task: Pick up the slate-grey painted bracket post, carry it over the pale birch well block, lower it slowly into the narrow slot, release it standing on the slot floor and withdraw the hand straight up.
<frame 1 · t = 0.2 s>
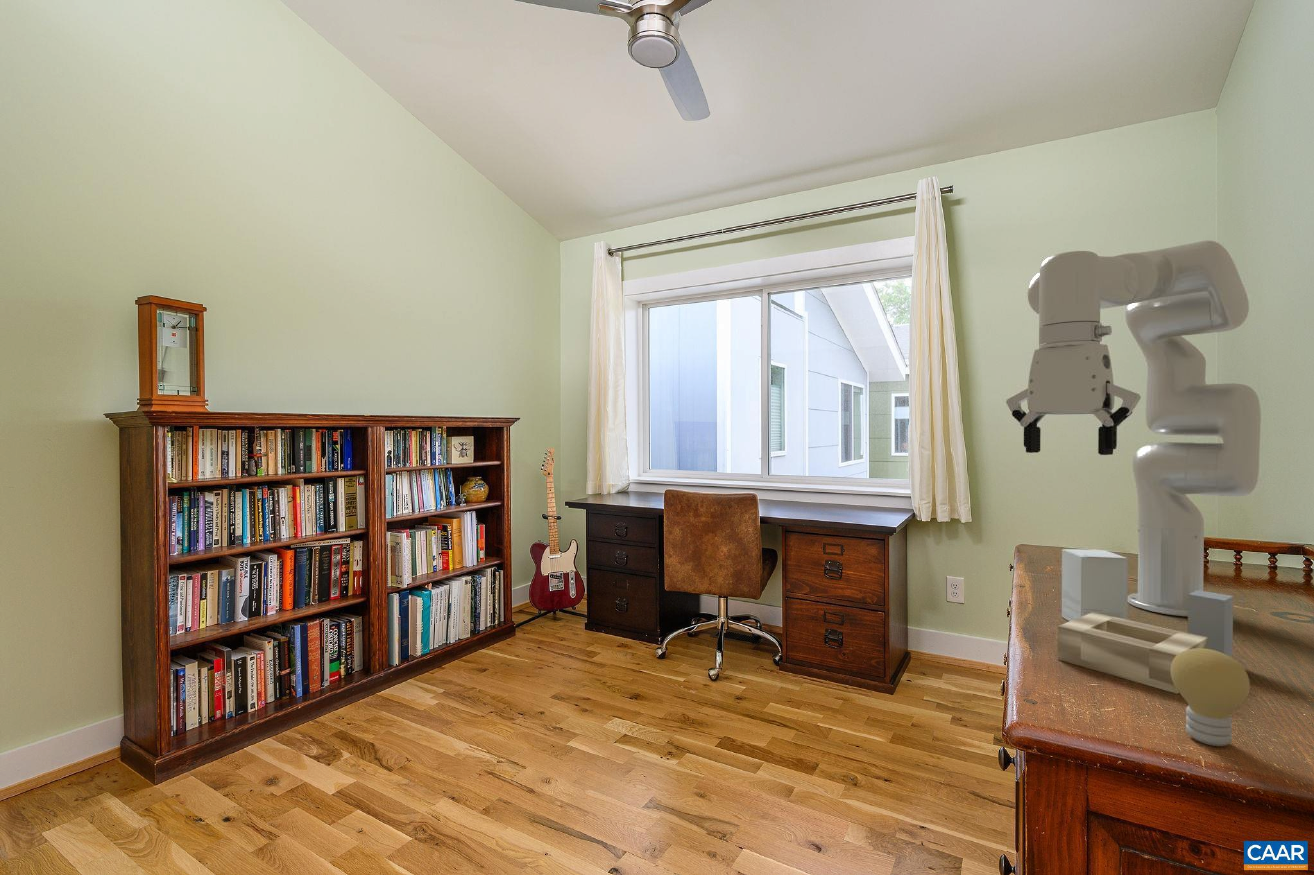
hand: (1067, 453, 90), 31 cm above the table, fingers open, 9 cm apart
supplement box: (1093, 625, 106), on the table
well: (1130, 666, 87), on the table
light bulb: (1208, 742, 66), on the table
bracket: (1209, 663, 88), on the table
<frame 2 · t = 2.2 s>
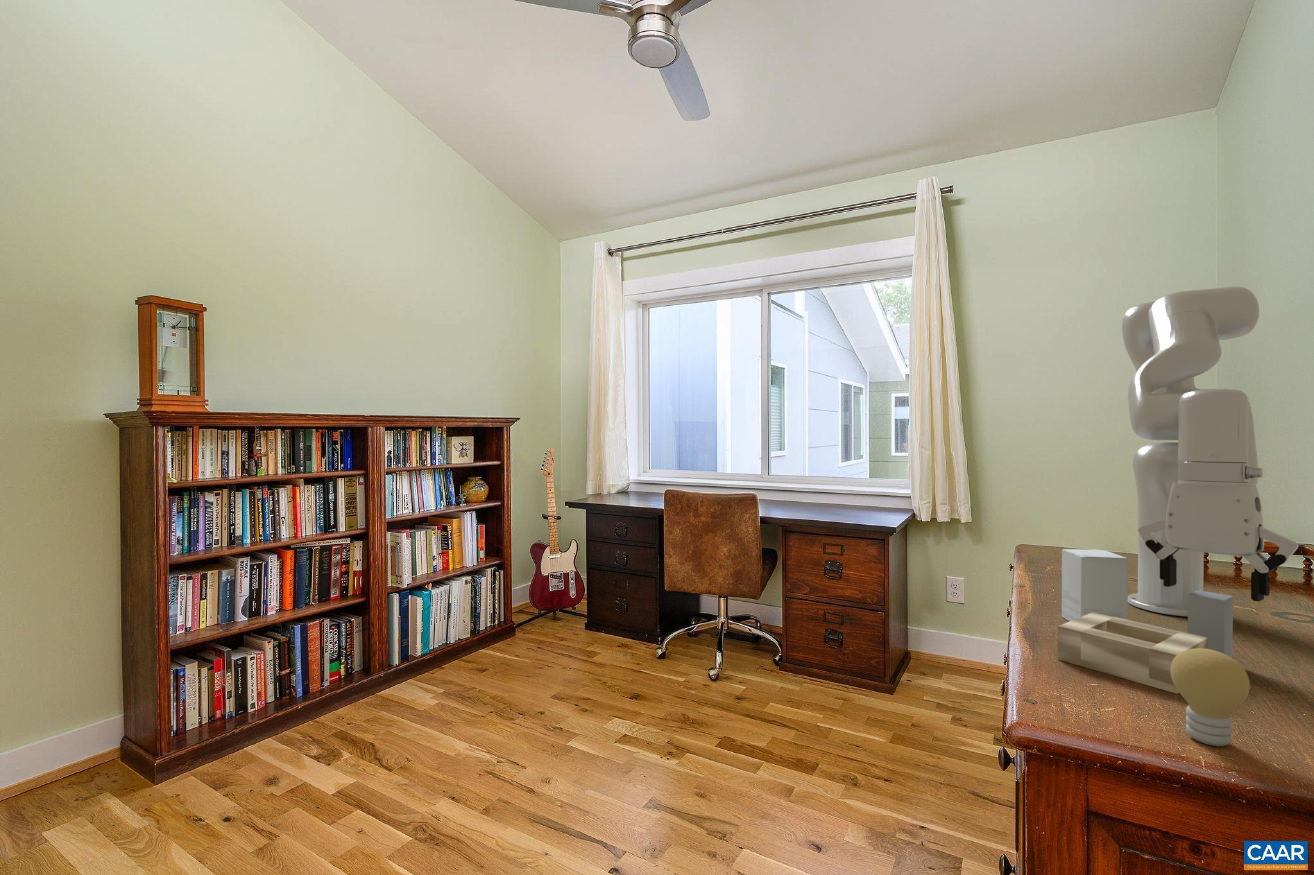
hand: (1211, 592, 87), 11 cm above the table, fingers open, 9 cm apart
nothing on the table moved.
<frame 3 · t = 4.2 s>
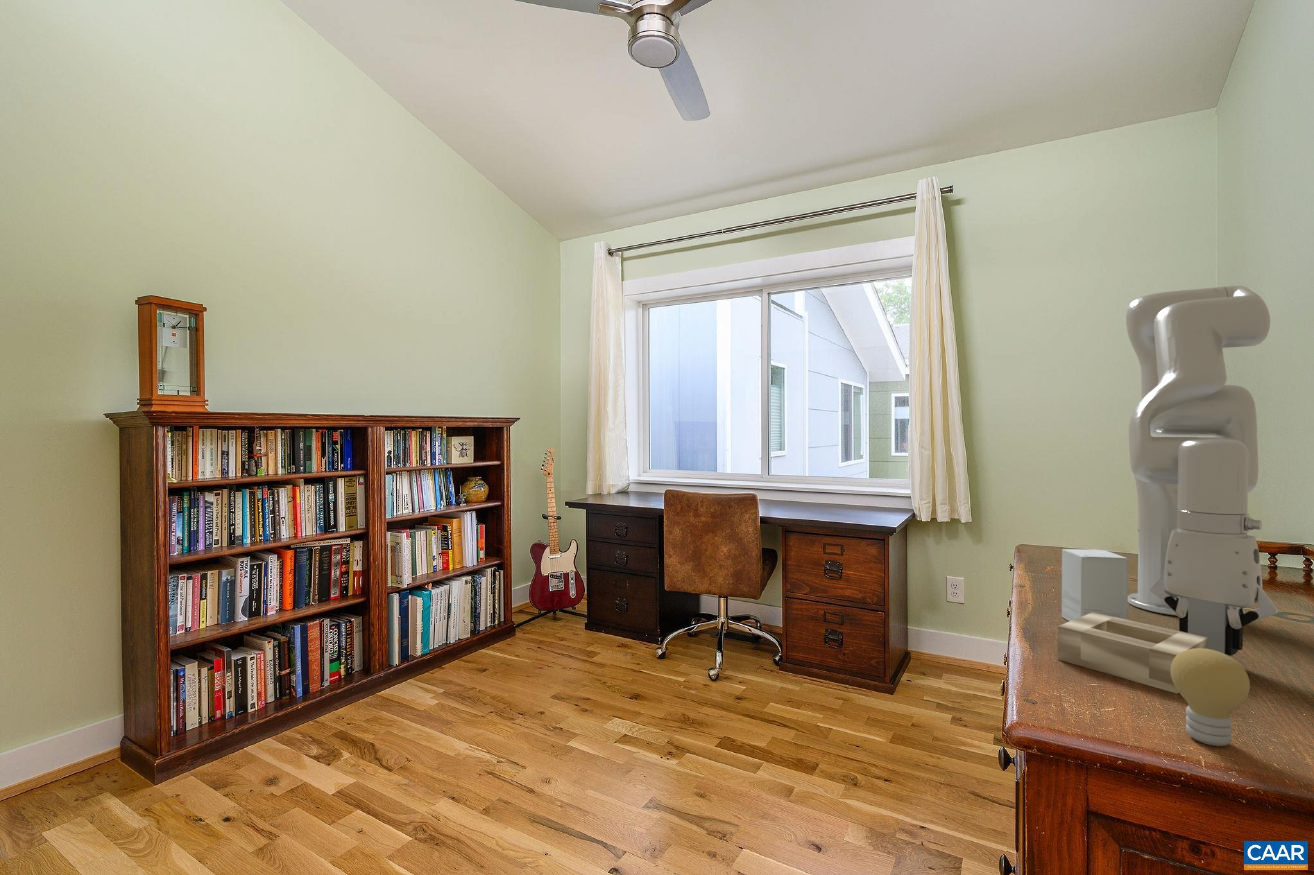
hand: (1209, 647, 88), 2 cm above the table, fingers closed on bracket, 4 cm apart
bracket: (1209, 663, 88), on the table, touching gripper
everything else where it was.
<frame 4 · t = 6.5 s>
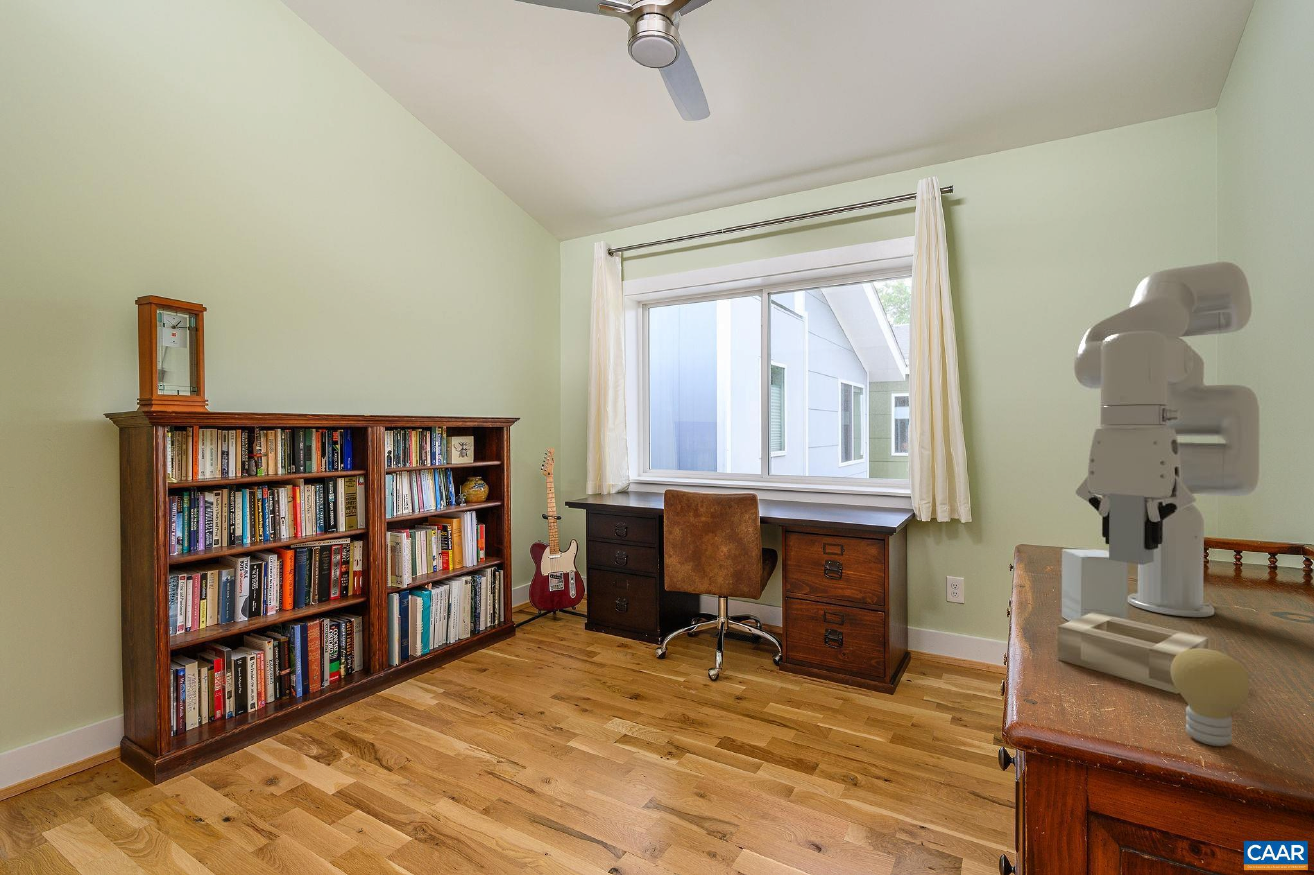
hand: (1131, 544, 87), 18 cm above the table, fingers closed on bracket, 4 cm apart
bracket: (1131, 560, 87), point 15 cm above the table, touching gripper
everything else where it was.
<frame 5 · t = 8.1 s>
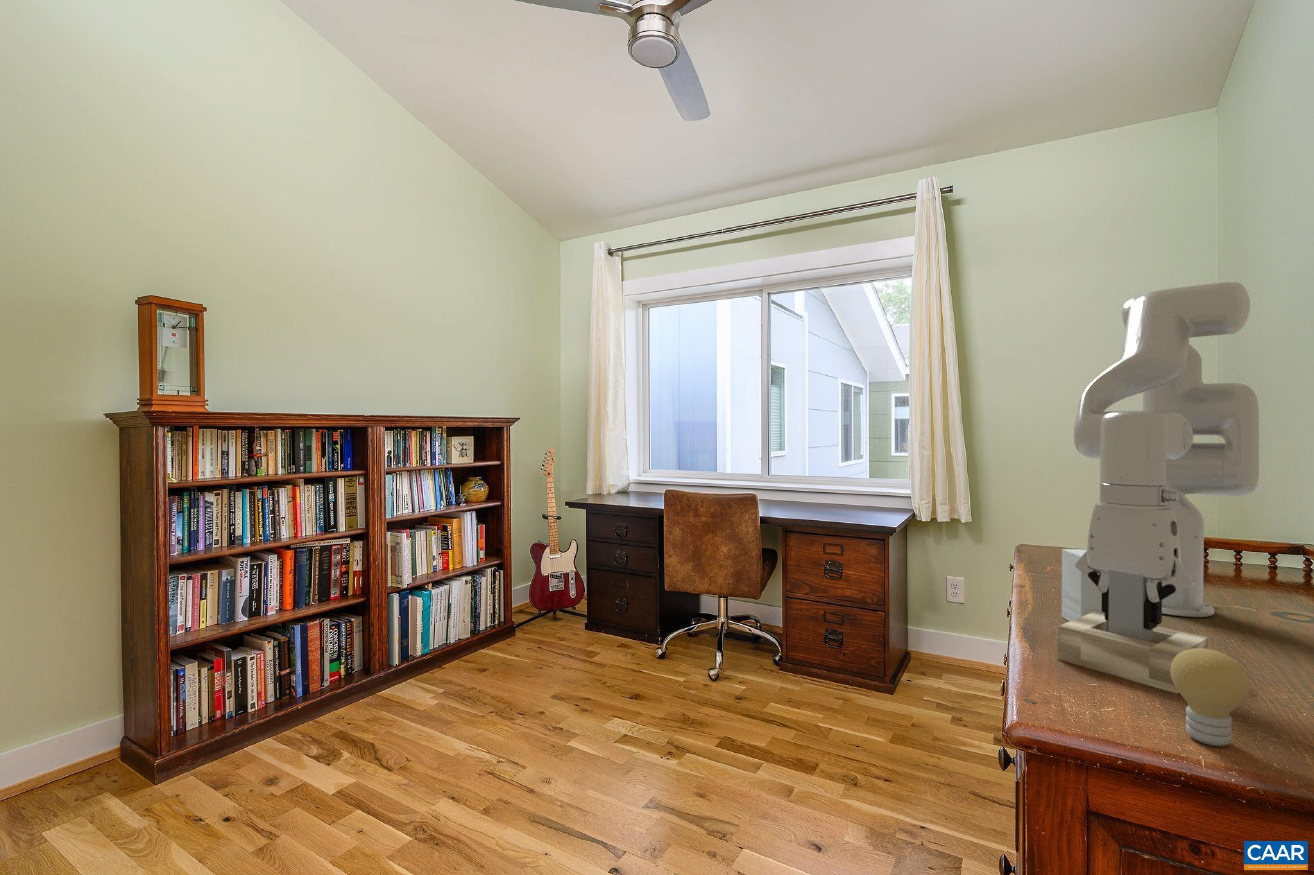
hand: (1130, 622, 87), 6 cm above the table, fingers closed on bracket, 4 cm apart
bracket: (1130, 638, 87), point 4 cm above the table, touching gripper
everything else where it was.
when the fingers open (5 cm above the table, at t = 9.1 s): bracket drops 1 cm, resting on well.
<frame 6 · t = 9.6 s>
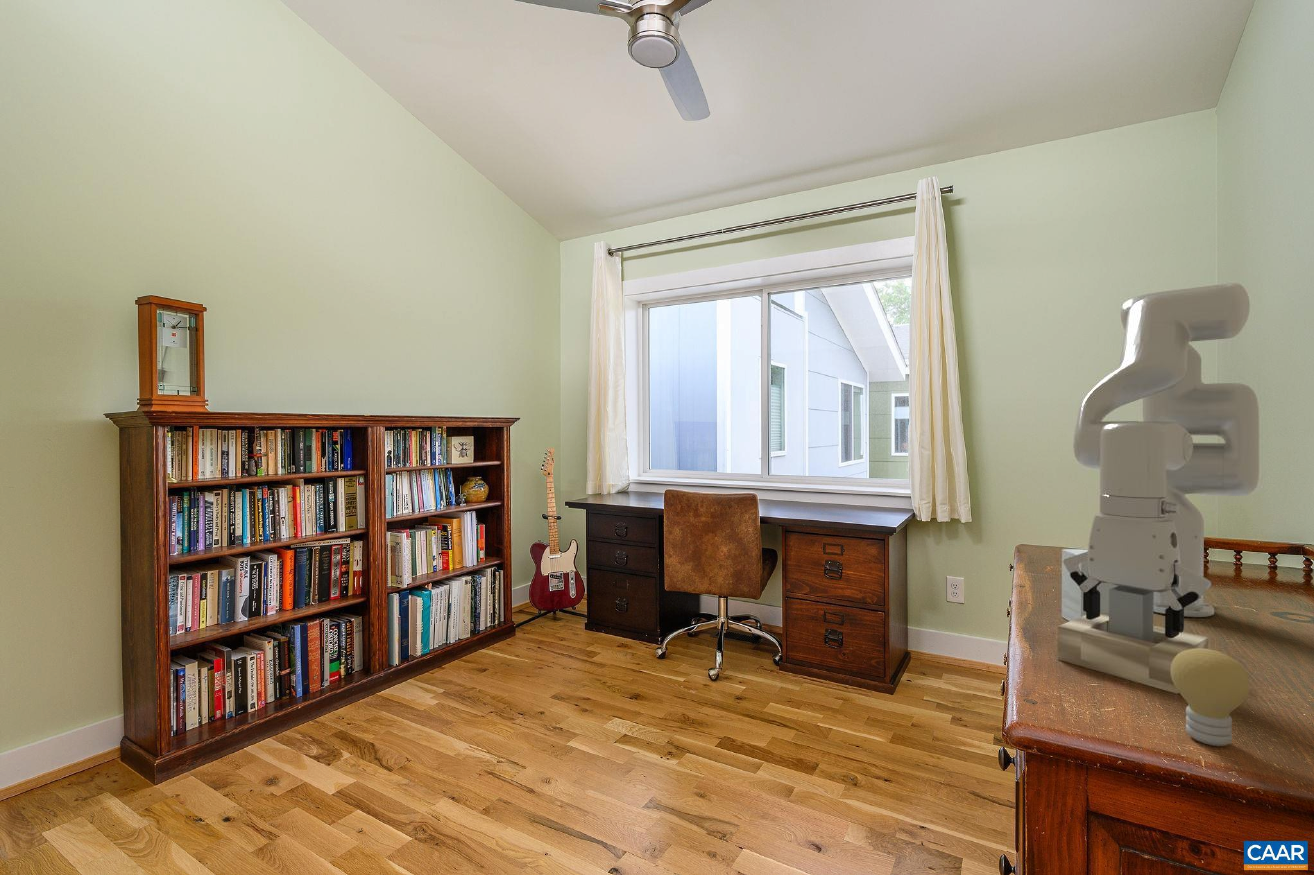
hand: (1130, 626, 87), 6 cm above the table, fingers open, 9 cm apart
bracket: (1130, 659, 87), point 1 cm above the table, touching well
everything else where it was.
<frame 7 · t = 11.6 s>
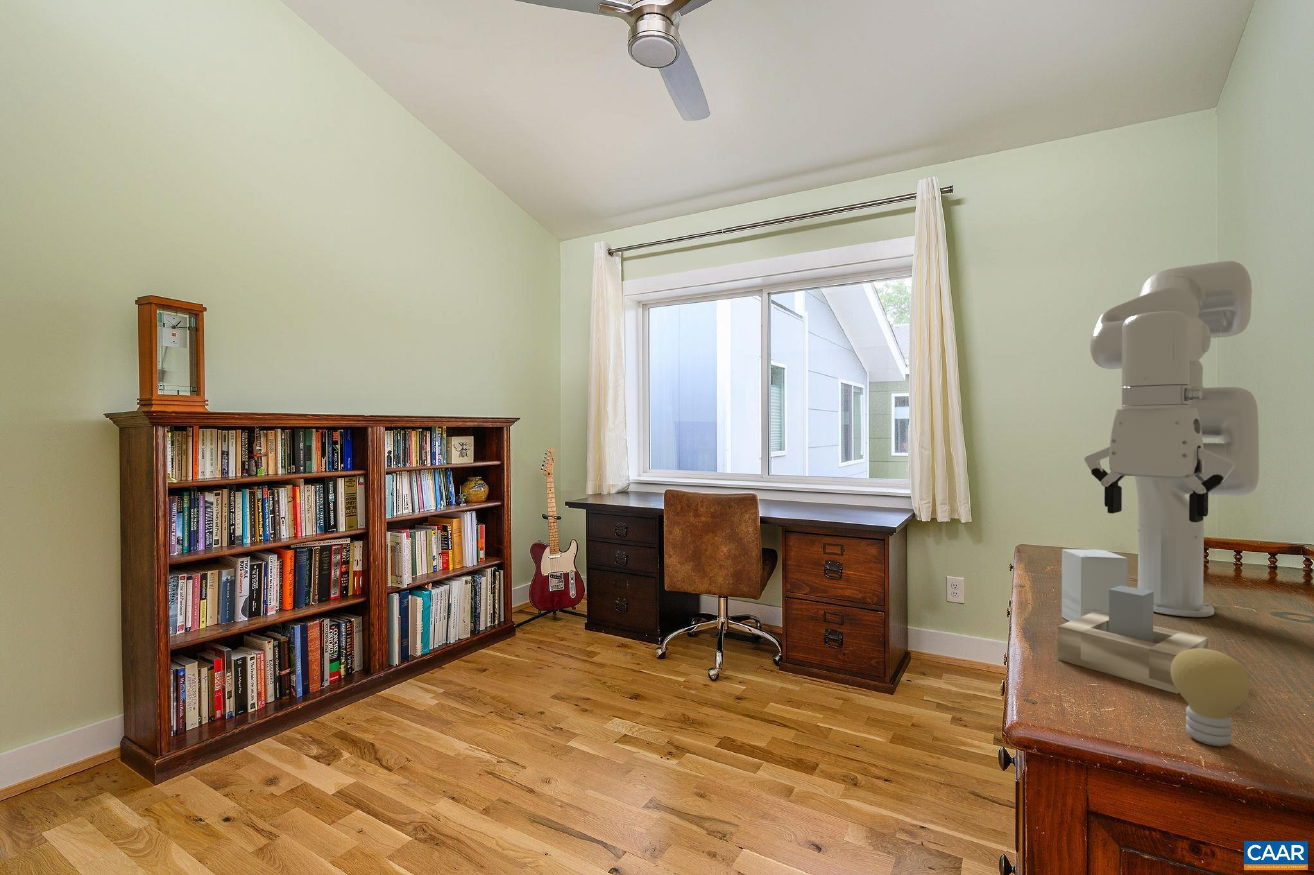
hand: (1153, 516, 88), 22 cm above the table, fingers open, 9 cm apart
nothing on the table moved.
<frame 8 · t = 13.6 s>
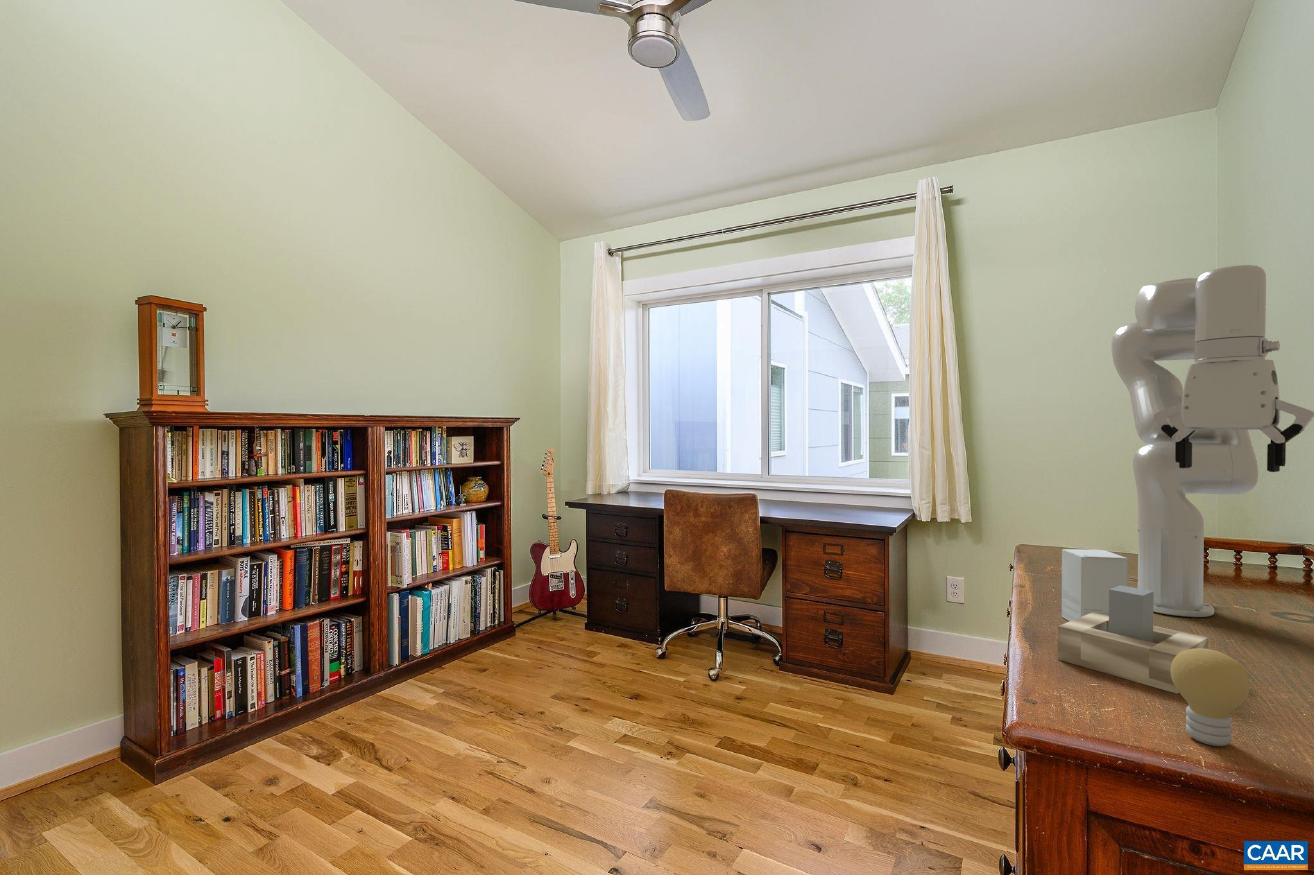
hand: (1227, 469, 89), 28 cm above the table, fingers open, 9 cm apart
nothing on the table moved.
at the end: bracket inside the target area on the well (0.0 cm from its centre), point 1.0 cm above the well's base; bracket tilted 0°; the gripper is holding nothing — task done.
